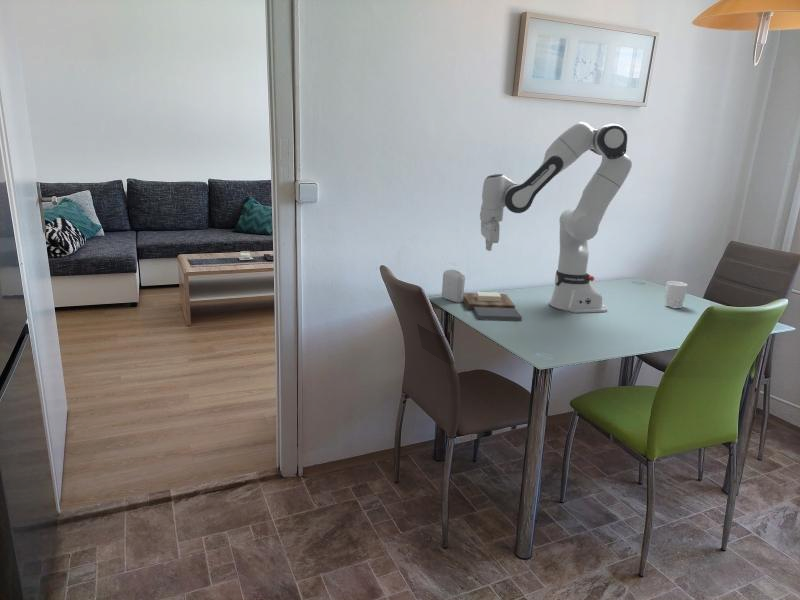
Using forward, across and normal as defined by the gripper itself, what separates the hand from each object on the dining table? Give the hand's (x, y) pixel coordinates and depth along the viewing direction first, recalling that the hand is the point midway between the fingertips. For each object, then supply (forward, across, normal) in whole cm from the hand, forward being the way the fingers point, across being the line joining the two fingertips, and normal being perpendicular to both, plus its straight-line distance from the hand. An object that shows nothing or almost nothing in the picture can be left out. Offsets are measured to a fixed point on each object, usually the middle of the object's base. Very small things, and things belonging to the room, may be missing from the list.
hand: (488, 250), depth 234 cm
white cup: (+21, -2, -79) cm, 82 cm away
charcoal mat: (+21, -22, -1) cm, 30 cm away
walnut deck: (+21, -8, 0) cm, 22 cm away
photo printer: (+21, -2, +13) cm, 25 cm away
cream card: (+18, -8, 0) cm, 20 cm away
